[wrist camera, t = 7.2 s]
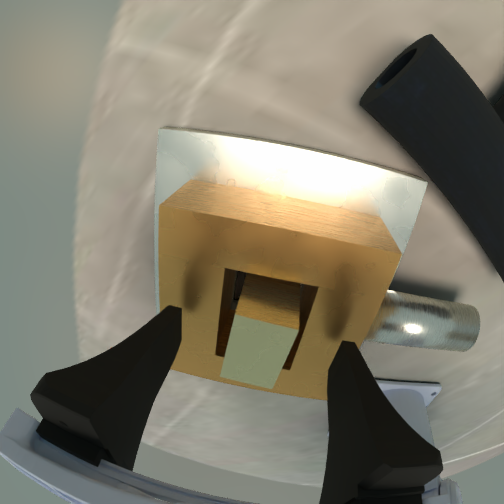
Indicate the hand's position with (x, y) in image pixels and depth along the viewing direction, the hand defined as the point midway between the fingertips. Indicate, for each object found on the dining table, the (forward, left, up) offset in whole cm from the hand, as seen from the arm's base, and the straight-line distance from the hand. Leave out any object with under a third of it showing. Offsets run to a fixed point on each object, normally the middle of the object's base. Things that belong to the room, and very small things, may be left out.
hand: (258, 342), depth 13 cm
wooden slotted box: (0, -3, -6) cm, 7 cm away
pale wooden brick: (0, 0, -6) cm, 6 cm away
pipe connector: (+12, -12, -7) cm, 18 cm away
